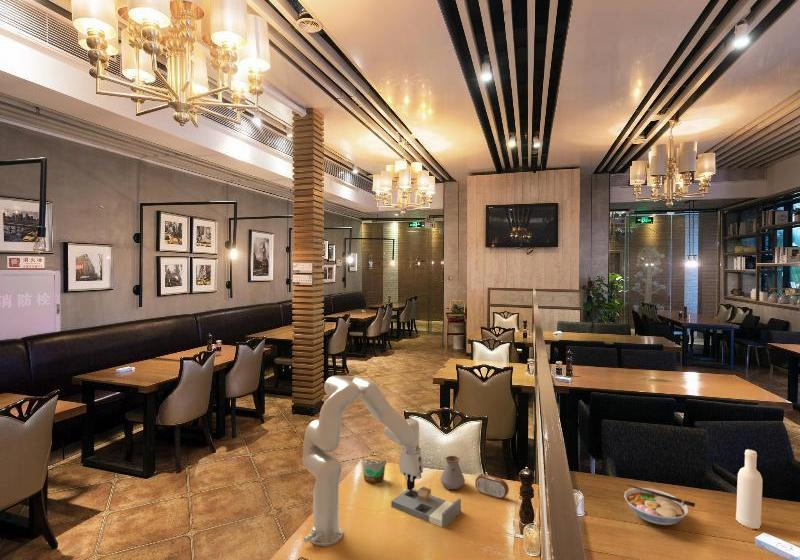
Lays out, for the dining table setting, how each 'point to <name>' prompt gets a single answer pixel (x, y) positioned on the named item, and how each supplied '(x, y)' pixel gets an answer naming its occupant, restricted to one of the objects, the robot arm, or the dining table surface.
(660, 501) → the ramen bowl
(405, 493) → the board
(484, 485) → the tin
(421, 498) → the block
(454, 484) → the coffee pot
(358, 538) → the dining table surface
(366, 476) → the food container
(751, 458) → the bottle
